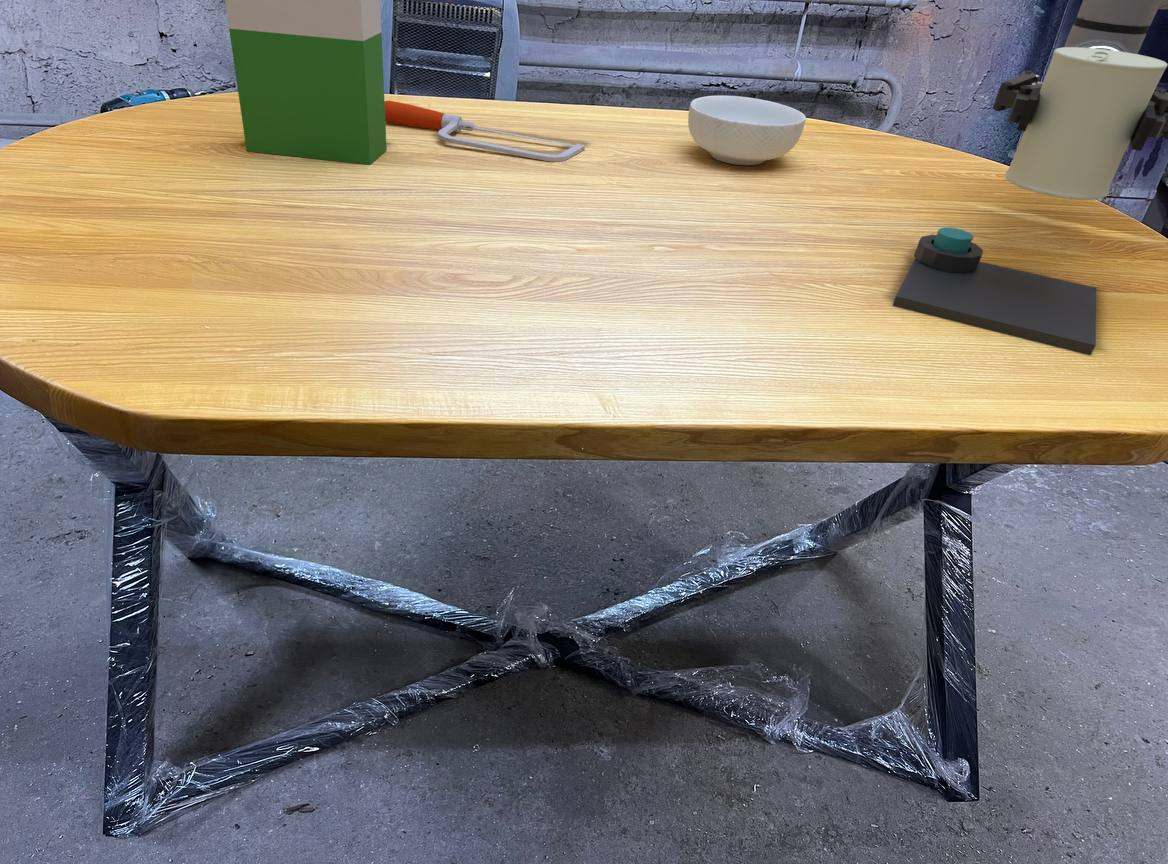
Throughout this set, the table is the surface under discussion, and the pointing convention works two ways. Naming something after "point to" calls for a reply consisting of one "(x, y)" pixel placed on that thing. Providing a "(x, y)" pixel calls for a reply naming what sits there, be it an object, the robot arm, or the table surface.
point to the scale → (999, 298)
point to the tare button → (953, 240)
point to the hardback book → (310, 77)
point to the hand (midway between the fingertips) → (1084, 124)
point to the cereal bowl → (744, 128)
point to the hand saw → (454, 123)
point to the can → (1083, 121)
